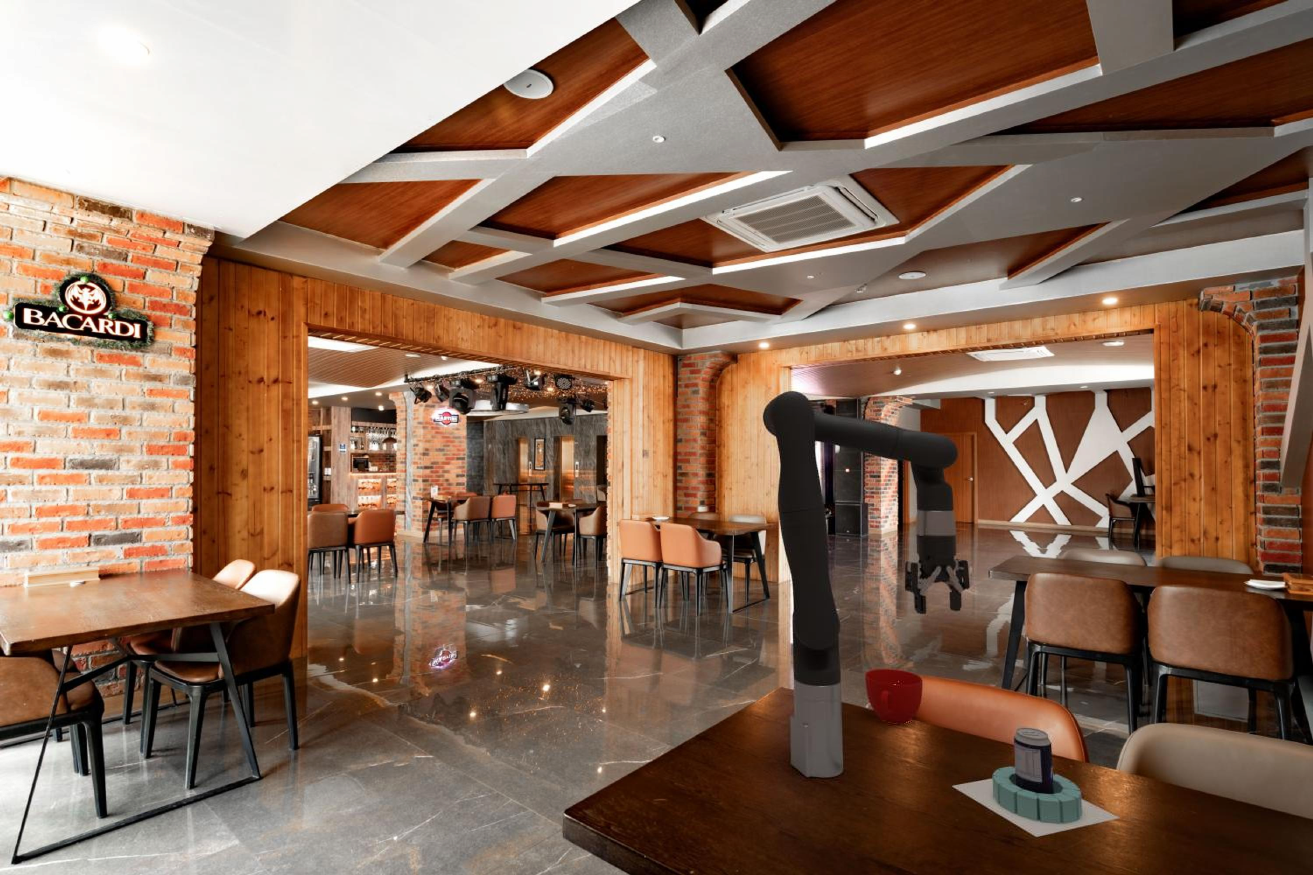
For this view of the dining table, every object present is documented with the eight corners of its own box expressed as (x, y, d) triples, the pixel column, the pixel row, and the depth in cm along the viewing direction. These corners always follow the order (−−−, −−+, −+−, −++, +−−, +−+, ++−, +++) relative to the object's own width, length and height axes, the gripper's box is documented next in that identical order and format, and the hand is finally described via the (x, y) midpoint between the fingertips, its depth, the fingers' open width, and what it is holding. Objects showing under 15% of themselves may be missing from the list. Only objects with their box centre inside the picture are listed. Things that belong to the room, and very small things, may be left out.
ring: (1040, 828, 104) (1039, 806, 104) (977, 792, 117) (976, 772, 117) (1099, 815, 108) (1098, 794, 108) (1033, 781, 121) (1032, 762, 121)
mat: (1036, 841, 102) (1036, 836, 102) (951, 790, 119) (951, 785, 119) (1120, 822, 107) (1119, 817, 108) (1027, 776, 125) (1027, 771, 125)
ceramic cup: (855, 728, 149) (854, 683, 150) (873, 706, 164) (872, 666, 164) (915, 739, 142) (913, 693, 143) (928, 715, 157) (926, 673, 158)
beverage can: (1060, 813, 109) (1056, 740, 110) (1023, 810, 110) (1019, 737, 111) (1046, 797, 115) (1043, 727, 115) (1012, 794, 116) (1009, 725, 117)
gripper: (950, 530, 140) (952, 606, 138) (894, 531, 135) (897, 610, 134) (977, 532, 132) (980, 613, 131) (919, 534, 128) (922, 618, 127)
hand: (938, 611), depth 133 cm, fingers open, 8 cm apart
